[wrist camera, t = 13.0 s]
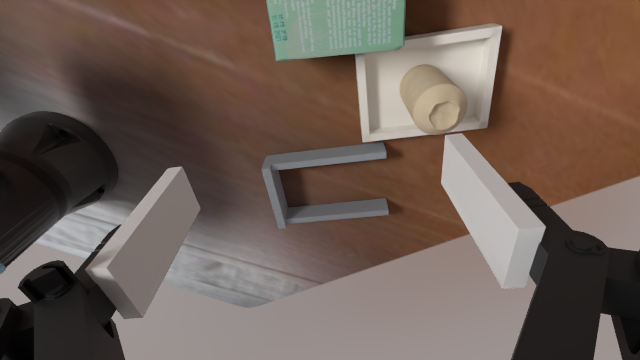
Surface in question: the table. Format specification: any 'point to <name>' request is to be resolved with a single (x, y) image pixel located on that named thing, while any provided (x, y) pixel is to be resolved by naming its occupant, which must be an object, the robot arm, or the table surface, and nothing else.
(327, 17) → the box
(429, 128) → the candle
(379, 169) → the table surface
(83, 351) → the robot arm
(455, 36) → the tray
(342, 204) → the bracket
